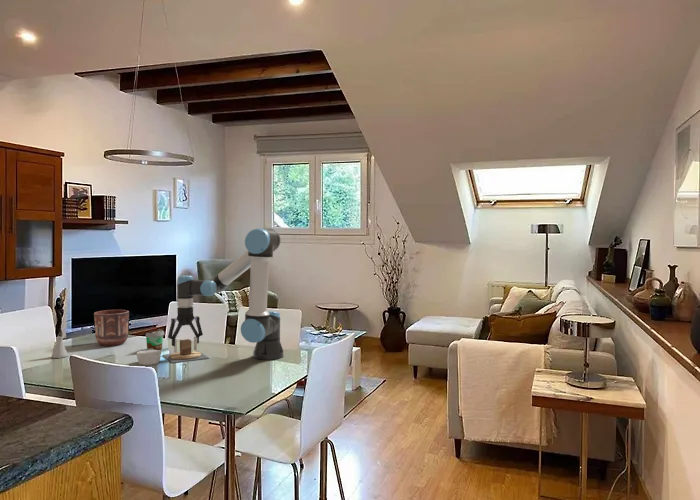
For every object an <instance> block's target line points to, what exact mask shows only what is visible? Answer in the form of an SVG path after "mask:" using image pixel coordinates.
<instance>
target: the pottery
mask: <svg viewBox="0 0 700 500" xmlns="http://www.w3.org/2000/svg"><path fill="white" fill-rule="evenodd" d="M93 318H94V319H93V320H94V330H95V331H94V332H95V335H94V336H95V340H96V342H97V343H98V344H99V345H100V346H102V347H117V346H122V345H123V344H125V343H126V341H127V340H128V338H129V320H130V319H129V318H130V311H129V310H128V309H127V310H126V309H106V310H99V311H95V312H94V313H93Z"/></svg>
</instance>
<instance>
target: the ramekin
mask: <svg viewBox="0 0 700 500" xmlns="http://www.w3.org/2000/svg"><path fill="white" fill-rule="evenodd" d="M161 354H162V350H160V351H159V350H147V349H146V350H140V351H137V352H136V357H137V363H138V364H139V365H141V364H143V365H142V366H152V364H153V365H157V364H159V362H160V361H161V356H162V355H161Z"/></svg>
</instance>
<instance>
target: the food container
mask: <svg viewBox="0 0 700 500" xmlns="http://www.w3.org/2000/svg"><path fill="white" fill-rule="evenodd" d="M164 336H165V331H164V329H161V328H158V329H157V330H156V331H151V332H146V333H145V339H146V350H160V351H162V350H163V341H164ZM161 349H162V350H161Z"/></svg>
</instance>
